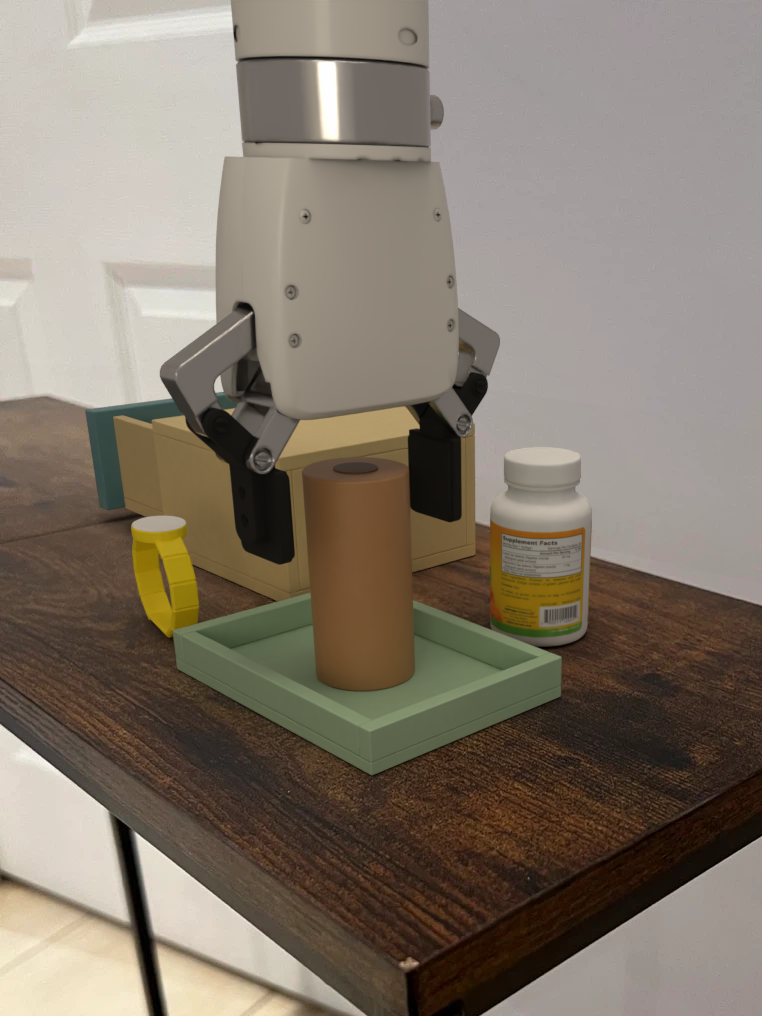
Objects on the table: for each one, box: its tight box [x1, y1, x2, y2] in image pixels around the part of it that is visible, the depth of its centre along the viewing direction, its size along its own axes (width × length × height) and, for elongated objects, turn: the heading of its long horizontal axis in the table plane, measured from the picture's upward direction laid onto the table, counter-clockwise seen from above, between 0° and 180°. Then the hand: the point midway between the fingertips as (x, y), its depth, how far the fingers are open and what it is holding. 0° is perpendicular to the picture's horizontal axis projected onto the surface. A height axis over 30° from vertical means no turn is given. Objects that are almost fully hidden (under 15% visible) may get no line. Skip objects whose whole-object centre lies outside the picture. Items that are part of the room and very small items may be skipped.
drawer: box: [84, 391, 237, 518], centre depth 81 cm, size 17×13×7 cm
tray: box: [172, 593, 563, 776], centre depth 56 cm, size 16×12×2 cm
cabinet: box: [152, 406, 476, 602], centre depth 73 cm, size 14×15×9 cm
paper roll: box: [302, 457, 415, 691], centre depth 54 cm, size 5×5×10 cm
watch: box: [130, 516, 200, 639], centre depth 61 cm, size 6×3×6 cm, turn 36°
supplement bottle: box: [489, 446, 593, 648], centre depth 61 cm, size 5×5×10 cm
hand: (356, 535), depth 53 cm, fingers open, 9 cm apart
